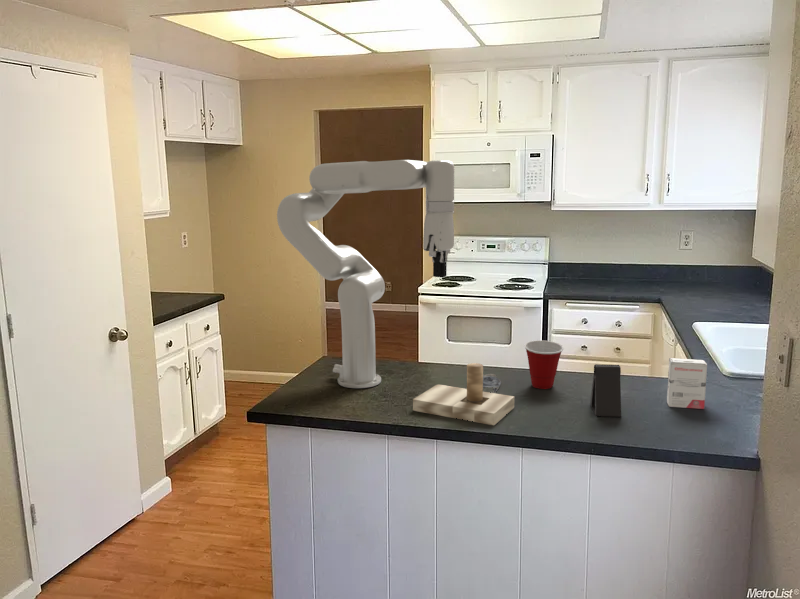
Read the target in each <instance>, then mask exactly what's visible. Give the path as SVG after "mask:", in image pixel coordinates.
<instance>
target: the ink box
mask: <svg viewBox="0 0 800 599" xmlns="http://www.w3.org/2000/svg"><path fill="white" fill-rule="evenodd" d="M707 370H708V364H707V362H706V361H705V360H704V359H691V358H674V357H673V358H672V357H670V358H669V359H668V372H667V373H668V375H667V376H668V377H667V392H666V403H667V406H668V407H669V408H670V407H671V408H684V409H699V410H705V405H706V404H705V403H706V391H707V389H706V386H707V376H708V375H707Z"/></svg>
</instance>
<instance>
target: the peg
mask: <svg viewBox="0 0 800 599" xmlns="http://www.w3.org/2000/svg"><path fill="white" fill-rule="evenodd" d="M483 375H484V365H483V364H481V363H478V362H476V363H475V362H474V363H473V362H472V363H468V364H466V389H467V399H466V400H467V401H468V403H472V404H478V405H481V402H482V401H483V392H484V389H483Z"/></svg>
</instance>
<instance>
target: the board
mask: <svg viewBox="0 0 800 599" xmlns="http://www.w3.org/2000/svg"><path fill="white" fill-rule="evenodd" d="M466 399H467V388H465V387H457V386H449V385H445V384H435V385H434V386H432V387H431V388H429V389H427V390H426V391H424V392H423V393H421V394H419V395H417V396H416V397H414V398H412V410H413V411H414V412H419V413H425V414H430V415H437V416H441V417H446V418H452V419H456V418H457V419H458V420H462V419H463V421H467V420H468V422H472V421H473V422H474V423H477V424H478V423H479V424H484V425H488V426H495V425H497V423H499V422H500V421H501V420H503V418H505V416H507V415H508V413H511V412H512V410H514V409H515V396H513V395H507V394H503V393H497V394H496V393H490V392H488V391H483V401H482V402H481V405H478V404H472V403H468V401H467V400H466ZM506 414H507V415H506ZM457 419H456V420H457Z"/></svg>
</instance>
